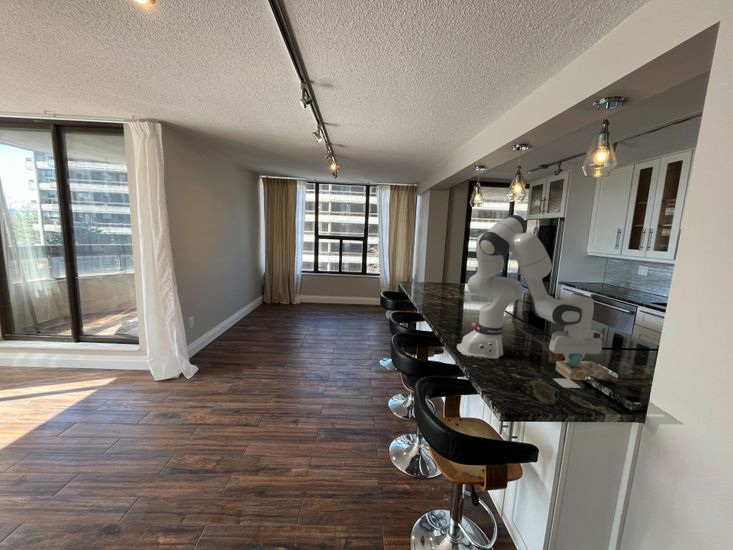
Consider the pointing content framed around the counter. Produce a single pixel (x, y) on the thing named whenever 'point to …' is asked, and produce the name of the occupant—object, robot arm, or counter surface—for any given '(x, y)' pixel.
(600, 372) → the socket block
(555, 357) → the brown rounded slab
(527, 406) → the counter surface
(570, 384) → the deck
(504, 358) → the counter surface
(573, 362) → the plug
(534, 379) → the counter surface
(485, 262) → the robot arm
